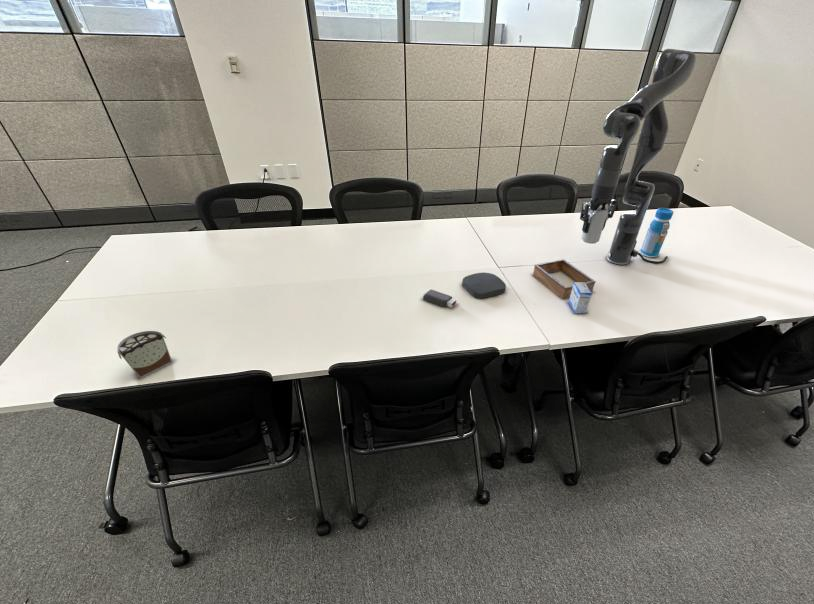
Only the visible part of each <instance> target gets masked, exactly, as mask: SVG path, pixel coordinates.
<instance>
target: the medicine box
mask: <svg viewBox="0 0 814 604" xmlns="http://www.w3.org/2000/svg"><path fill="white" fill-rule="evenodd" d="M572 285H573V288H572V292H571V295H570V297H569V299H568V304H569V305H570V307H571V309H572V310H573V312H574V314H586V313H587V311H588V309H589V306H590V303H591V299H592V296H593V291H592V292H591V291H590V290H589V288H588V287H587V285H586V284H585V283H584V282H576V281H575V282H574V283H573V284H572Z"/></svg>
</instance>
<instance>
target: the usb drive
mask: <svg viewBox="0 0 814 604" xmlns="http://www.w3.org/2000/svg"><path fill="white" fill-rule="evenodd" d="M422 300H423V301H424V302H427V303H431V304H432V305H433V304H434V305H437V306H440V307H441V308H447V307H448V308H451V309H452V308H453V307H455V306H456V305H457V299H455V298H453V296H452V295H449V294H446V293H443V292H440V291H437V290H435V289H430V290H428V291H427V292H425V293H424V294H423V296H422Z"/></svg>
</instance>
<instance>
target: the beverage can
mask: <svg viewBox="0 0 814 604" xmlns="http://www.w3.org/2000/svg"><path fill="white" fill-rule="evenodd" d="M594 211H595V210H594ZM594 211H592V210H591V209H590V211H589V212H590V213H591V214H593V213H594ZM606 215H607V209H604V210H598V211H597V212H596V214H595V216H594V217H592V220H591V222H590V226H589V230H588V233H584V232H583V231H582V235H581V240H582V241H583V242H584V243H586V244H589V245H590V244H591V245H593V244H597V243H598V242H599V241H600V239H601V236H602V233H603V231H602V229H603V225H604V222H605V218H606ZM589 217H590V215H589V216H588V219H589ZM603 230H604V229H603Z"/></svg>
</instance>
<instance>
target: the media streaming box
mask: <svg viewBox="0 0 814 604" xmlns="http://www.w3.org/2000/svg"><path fill="white" fill-rule="evenodd" d="M461 286H462V287H463V288H464V289H465V290H466V291H467V292H468V293H469V294H470V295H472V296H473V297H475V298H477V299H478V298H479V299H485V298H490V297H494V296H498V295H502V294H504V293H505V292H506V288H507V285H506V283H505V281H503V279H501V278H500V277H499V276H497V275H496V274H494V273H490V272H477V273H476V272H475V273H472V274H469V275H466V276H464V277H463V278H462V282H461Z"/></svg>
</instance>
